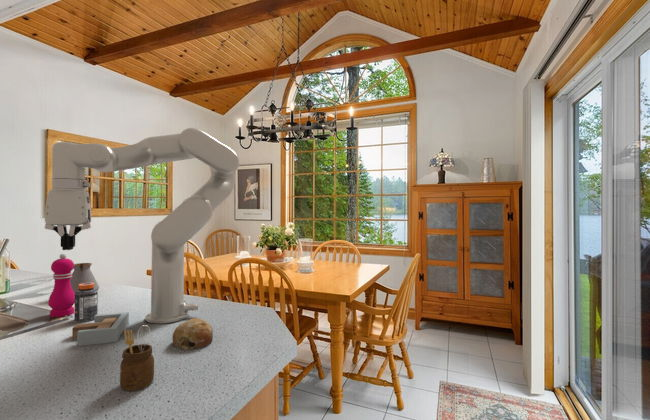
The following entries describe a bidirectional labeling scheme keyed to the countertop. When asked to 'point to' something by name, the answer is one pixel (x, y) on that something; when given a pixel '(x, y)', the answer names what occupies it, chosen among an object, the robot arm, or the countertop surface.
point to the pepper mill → (62, 288)
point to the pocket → (104, 330)
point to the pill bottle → (85, 303)
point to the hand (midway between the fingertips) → (67, 249)
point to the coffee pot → (82, 276)
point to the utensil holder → (136, 364)
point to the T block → (93, 326)
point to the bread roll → (193, 334)
